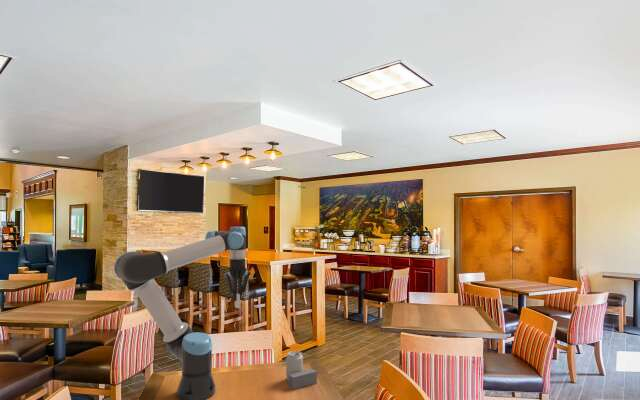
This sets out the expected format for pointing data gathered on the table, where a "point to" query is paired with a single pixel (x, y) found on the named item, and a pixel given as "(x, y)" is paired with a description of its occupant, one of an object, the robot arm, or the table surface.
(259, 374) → the table surface
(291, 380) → the block
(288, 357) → the can
